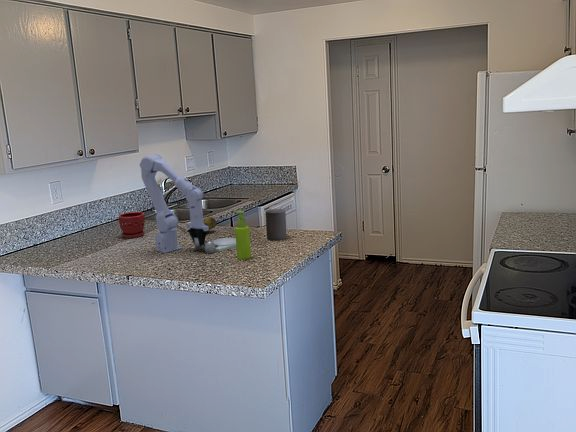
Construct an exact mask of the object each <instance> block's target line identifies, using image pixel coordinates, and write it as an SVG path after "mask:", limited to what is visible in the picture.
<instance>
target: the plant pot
mask: <svg viewBox="0 0 576 432" xmlns="http://www.w3.org/2000/svg"><path fill="white" fill-rule="evenodd" d="M145 218H146V217H145V213H144V212H142V211H141V212H140V211H132V212H131V211H130V212H124V213H121V214H119V215H118V224H119V227H120V229H121V236H122V238H126V239H135V238H139V237H142V236H143V235H144V234H145V231H144V229H145V225H146V224H145V223H146V219H145Z"/></svg>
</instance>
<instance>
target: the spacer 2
mask: <svg viewBox="0 0 576 432" xmlns="http://www.w3.org/2000/svg"><path fill="white" fill-rule="evenodd" d="M204 249H205V254H208V255H211V254H215V252H216V251H215V249H214V241H213V240H205V248H204Z"/></svg>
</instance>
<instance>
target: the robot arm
mask: <svg viewBox="0 0 576 432" xmlns="http://www.w3.org/2000/svg"><path fill="white" fill-rule="evenodd" d="M139 167H140V171H141V181H143V182H142V183H143V184H144V187H145V189H146V192H147V193H148V196H149V198H150V200H151V202H152V205H153V207H154V209H155V211H156V215H155V220H156V228H157V229H158V231H159V232H158V233H156V234H155V246H156V247H155V248H156V249H155V251H157V252H161V253H165V254H166V253H168V252H173V251H177V250H181V249H183V247H182V246H179V242H178V234H177V233H178V232H177V231H178V230H177V227H178V226H179V218H178V217H177V216H176V215H175V214H174V211H173V210H171V209H170V208H169V207H168V205H167V202H166V201H165V198H164V196H163V193H162V191H161V188H160V186H159V184H158V182H157V180H156V175H157V173H158V172H161V173H163V174H164V175H165V176H166V177H168V178H169V179H170V180H171V181H172V182H173V183H174V187H175V188H176V189H177V190H179V192H181V193H182V194H183V195H184V196H185V199H186V201H187V202H188V207H189V210H188V211H189V220H190V222H186V228H187V233H189V235H190V238H191V240H192V243H193V244H194V237H196V236H198V240H199V245H200V246H202V245H204V243H205V242H206V237H207V234H208V232H209V231H210V230H209V226H206V225H205V224H204V223H203V220H204V213H203V212H204V211H203V201H202V200H203V198H204V192H203V189H201V188H199V187H196V186H195V185H193V184H192V183H191V182H190V181H189V179H188V177H184V176H180V175H179V174H178V173H177V172H176V171H175V170H174V169H173V168H172V167H171V166H170V165H169V164H168V163H167V161H166V159H164V158H163V157H162V156H161V155H160V154H154V155H149V156H144V157H142V159H141V160H140V162H139ZM188 228H189V229H188Z"/></svg>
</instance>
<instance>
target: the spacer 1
mask: <svg viewBox="0 0 576 432" xmlns="http://www.w3.org/2000/svg"><path fill="white" fill-rule="evenodd" d="M193 245H194V249H195V250H202V249H205V248H204V245H202V246H200V245H199V240H198V236H196V237H194V243H193Z"/></svg>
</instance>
